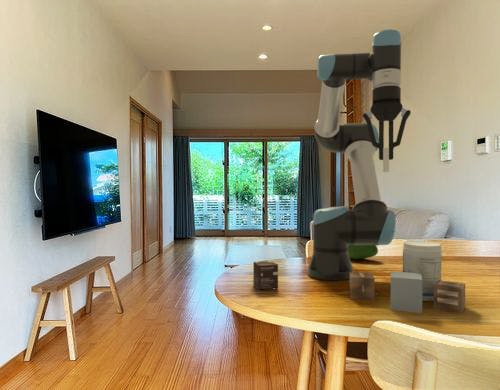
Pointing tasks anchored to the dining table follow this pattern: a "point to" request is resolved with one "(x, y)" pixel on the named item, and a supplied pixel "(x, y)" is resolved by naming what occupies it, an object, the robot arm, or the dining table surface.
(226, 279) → the dining table surface
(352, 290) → the marked cube left
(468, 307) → the dining table surface
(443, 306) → the marked cube right
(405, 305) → the plain block
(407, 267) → the supplement tub
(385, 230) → the robot arm
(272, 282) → the box
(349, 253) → the fruit
